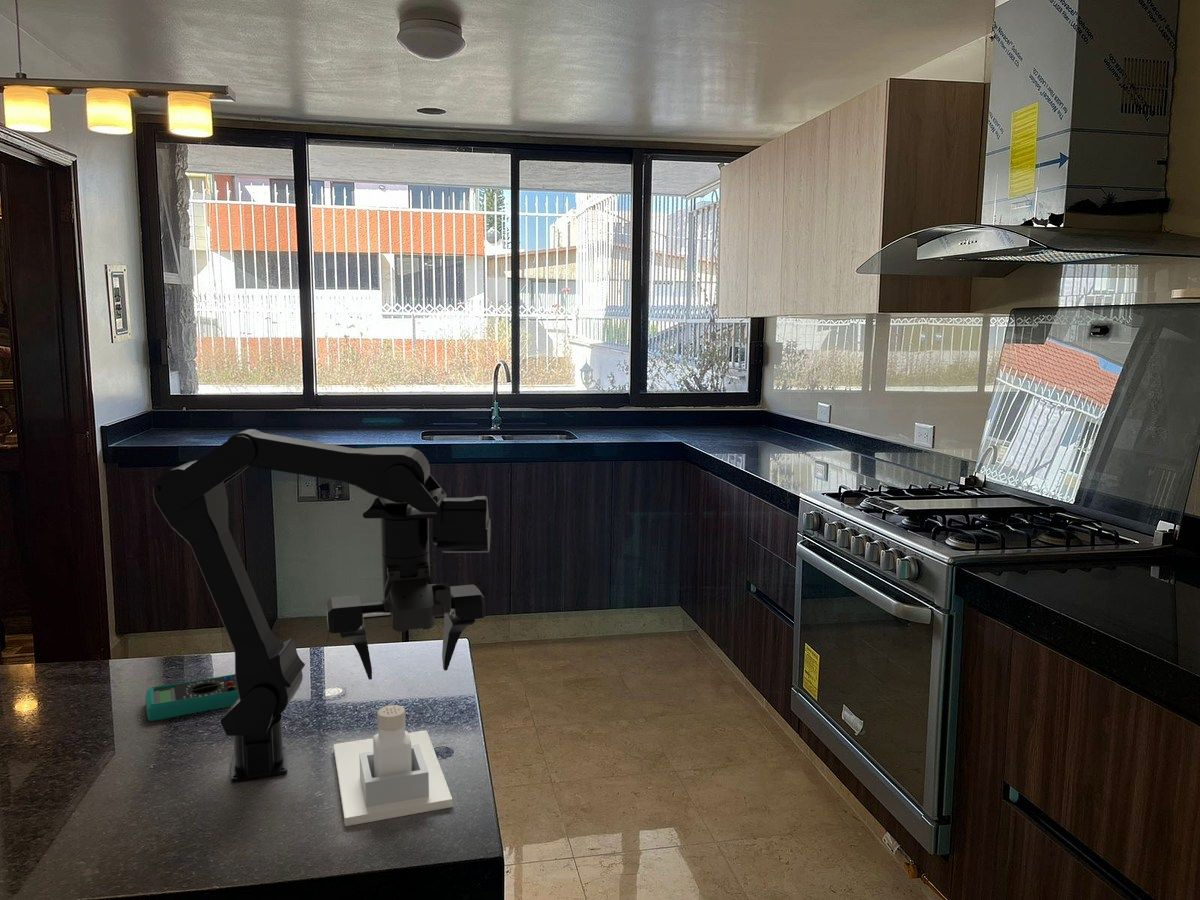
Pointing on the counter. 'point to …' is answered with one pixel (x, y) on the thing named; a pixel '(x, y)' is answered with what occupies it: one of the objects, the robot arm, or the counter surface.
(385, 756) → the pepper shaker
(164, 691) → the digital multimeter
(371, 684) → the counter surface
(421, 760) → the outlet plate
